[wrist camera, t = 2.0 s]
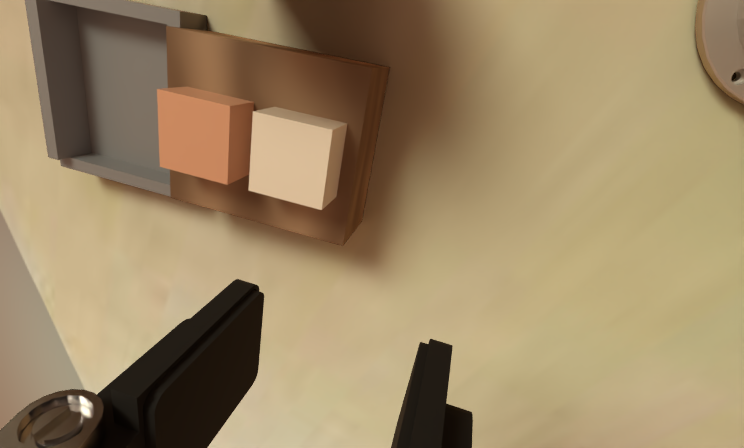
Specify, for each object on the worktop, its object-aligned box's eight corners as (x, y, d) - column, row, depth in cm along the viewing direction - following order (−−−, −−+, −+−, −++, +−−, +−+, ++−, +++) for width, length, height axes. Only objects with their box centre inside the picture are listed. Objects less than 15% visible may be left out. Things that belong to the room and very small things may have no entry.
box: (206, 15, 31) (169, 9, 27) (204, 189, 36) (174, 203, 33) (73, -11, 33) (21, -20, 29) (91, 158, 38) (49, 168, 35)
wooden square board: (389, 67, 29) (372, 68, 24) (361, 221, 33) (342, 245, 29) (212, 31, 31) (166, 26, 26) (210, 180, 36) (170, 197, 31)
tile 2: (347, 123, 26) (332, 129, 23) (336, 196, 28) (321, 210, 25) (274, 106, 27) (252, 111, 24) (269, 179, 29) (248, 190, 26)
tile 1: (253, 101, 27) (229, 106, 24) (249, 174, 29) (227, 184, 26) (186, 86, 28) (156, 88, 25) (187, 157, 30) (159, 166, 27)
